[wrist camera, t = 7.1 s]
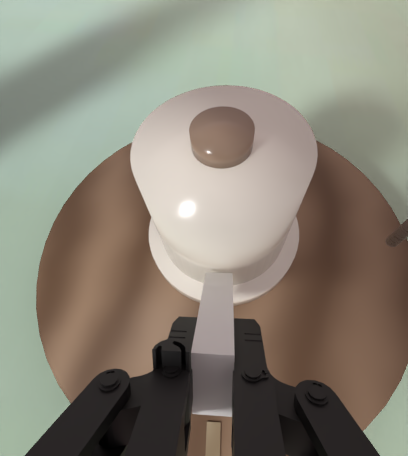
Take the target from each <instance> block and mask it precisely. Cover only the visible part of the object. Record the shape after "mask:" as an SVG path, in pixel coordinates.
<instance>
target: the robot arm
mask: <svg viewBox="0 0 408 456" xmlns="http://www.w3.org/2000/svg"><path fill="white" fill-rule="evenodd" d="M152 358H153V371H151V372H149V373H147V374H144V375H141V376H136V377H131V378H130V376H129V375H128V373H127V372H126V371H124V370H122V369H109V370H106V371H104V372H101V373H99V374H98V375H97V376H96V377H95V378H94V379H93V380H92V381H91V382H90V383H89V384H88V385H87V386H86V388H85V389H84V390H83V391H82V392H81V393H80V394H79V395H78V396H77V398H76V399H75V400H74V401H73V402H72V403H71V404H70V405H69V407H68V408H67V409H66V410H65V411H64V412H63V413H62V414H61V415H60V417H59V418H58V419H57V420H56V421H55V422H54V423H53V424H52V426H51V427H50V428H49V429H48V430H47V431H46V432H45V433H44V435H43V436H42V437H41V438H40V439H39V440H38V441H37V442H36V443H35V445H34V446H33V447H32V448H31V449H30V450H29V451H28V452H27V454H26V455H25V456H187V453H188V446H189V438H190V431H191V411H192V414H199V415H213V416H226V417H232V434H231V448H232V456H286V455H289V456H380V455H379V454H378V452H377V451H376V449H375V448H374V447H373V445H372V444H371V442H370V441H369V440H368V438H367V437H366V435H365V434H364V433H363V431H362V430H361V428H360V427H359V426H358V424H357V423H356V421H355V420H354V418H353V417H352V416H351V414H350V413H349V411H348V410H347V409H346V407H345V406H344V404H343V403H342V402H341V400H340V399H339V397H338V396H337V395H336V393H335V392H334V391H333V390H332V389H331V388H330V387H329V386H327V385H325V384H324V383H322V382H319V381H315V380H304V381H301V382H300V383H299V384H298V385H297V386H296V387H293V386H290V385H287V384H285V383H282V382H280V381H279V380H277V379H275V378H274V377H273V376H272V375H271V374H270V371H269V370H268V368H267V364H266V358H265V352H264V346H263V340H262V335H261V328H260V325H259V324H258V323H257V322H256V320H255V319H240V318H234V312H233V273H217V272H206V274H205V279H204V284H203V290H202V295H201V301H200V306H199V312H198V317H181V316H179V317H178V318H177V319H176V320H175V321H174V322H173V323H172V327H171V330H170V333H169V336H168V339H166V340H163V341H160V342H159V343H158V344H156V345H155V346H154V348H153V349H152Z"/></svg>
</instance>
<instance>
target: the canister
mask: <svg viewBox="0 0 408 456" xmlns="http://www.w3.org/2000/svg"><path fill="white" fill-rule="evenodd" d="M317 157H318V153H317V143H316V139H315V136H314V133H313V131H312V129H311V127H310V125H309V124H308V122H307V121H306V119H305V118H304V117H303V116H302V115H301V113H299V112H298V111H297V110H296V109H295V108H294V107H293V106H291V105H290V104H289V103H287V102H286V101H284V100H282V99H280V98H279V97H277V96H274V95H272V94H270V93H267V92H264V91H261V90H258V89H254V88H249V87H243V86H230V85H223V86H210V87H204V88H199V89H195V90H191V91H188V92H185V93H183V94H180V95H178V96H175V97H173V98H172V99H170V100H168V101H166V102H165V103H163V104H162V105H160V106H159V107H157V108H156V109H155V110H154V111H153V112H151V113H150V114H149V116H148V117H147V118H146V119H145V120H144V121H143V123H142V124H141V125H140V127H139V129H138V130H137V132H136V134H135V137H134V139H133V142H132V146H131V153H130V162H131V168H132V172H133V175H134V178H135V180H136V183H137V185H138V187H139V190H140V192H141V194H142V197H143V199H144V201H145V204H146V206H147V208H148V211H149V213H150V215H151V221H150V225H149V244H150V249H151V253H152V256H153V258H154V260H155V262H156V264H157V266H158V268H159V270H160V272H161V273H162V275H163V276H164V278H165V279H166V280H167V281H168V283H169V284H170V285H171V286H172V287H173V288H174V289H176V290H177V291H178V292H179V293H181V294H182V295H184V296H186V297H187V298H189V299H192V300H194V301H196V302H199V303H200V301H201V295H202V290H203V284H204V279H205V274H206V272H217V273H233V306H237V305H242V304H246V303H249V302H252V301H254V300H256V299H259V298H260V297H262V296H264V295H266V294H267V293H268V292H270V291H271V290H272V289H273V288H275V287H276V286H277V285H278V283H279V282H280V281H281V280H282V279H283V277H284V276H285V274H286V273H287V271H288V269H289V268H290V266H291V264H292V262H293V260H294V258H295V255H296V252H297V249H298V243H299V227H298V221H297V218H296V214H297V212H298V210H299V207H300V205H301V203H302V200H303V198H304V195H305V193H306V191H307V188H308V186H309V184H310V181H311V179H312V177H313V174H314V171H315V168H316V164H317Z"/></svg>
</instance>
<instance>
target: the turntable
mask: <svg viewBox="0 0 408 456" xmlns="http://www.w3.org/2000/svg"><path fill="white" fill-rule="evenodd" d="M316 143H317V153H318V157H317V164H316V168H315V171H314V174H313V177H312V179H311V181H310V184H309V186H308V188H307V191H306V193H305V195H304V198H303V200H302V203H301V205H300V207H299V210H298V212H297V214H296V218H297V221H298V227H299V243H298V249H297V252H296V255H295V258H294V260H293V262H292V264H291V266H290V268H289V269H288V271H287V273H286V274H285V276H284V277H283V279H282V280H281V281H280V282H279V283H278V285H277V286H276V287H275V288H273V289H272V290H271V291H270V292H268V293H267V294H266V295H264V296H262V297H260V298H259V299H256V300H254V301H252V302H249V303H246V304H242V305H237V306H233V312H234V318H240V319H255V320H256V322H257V323H258V324H259V325H260V328H261V335H262V340H263V346H264V352H265V358H266V364H267V368H268V370H269V371H270V374H271V375H272V376H273V377H274V378H275V379H277V380H279V381H280V382H282V383H285V384H287V385H290V386H293V387H296V386H297V385H298V384H299V383H300V382H301V381H304V380H315V381H319V382H322V383H324V384H325V385H327V386H329V387H330V388H331V389H332V390H333V391H334V392H335V393H336V395H337V396H338V397H339V399H340V400H341V402H342V403H343V404H344V406H345V407H346V409H347V410H348V411H349V413H350V414H351V416H352V417H353V418H354V420H355V421H356V423H357V424H358V426H359V427H360V428H361V430H362V431H363V430H364V429H366V427H367V426H368V425H369V424H370V423H371V422H372V421H373V419H374V418H375V417H376V416H377V415H378V414H379V412H380V411H381V410H382V409H383V408H384V407H385V406H386V404H387V402H388V401H389V399H390V397H391V396H392V394H393V392H394V391H395V389H396V387H397V386H398V384H399V382H400V381H401V379H402V376H403V374H404V371H405V369H406V366H407V364H408V241H407V238H406V239H405V240H403V241H402V242H401V243H400V244H399V245H397V246H396V247H389V246H388V245H387V244H386V242H385V240H386V238H387V237H388V236H389V235H390V234H392V233H393V232H394V231H395V230H396V229H397V228H398V227H399V226H400V223H399V221H398V219H397V217H396V215H395V214H394V212H393V210H392V208H391V207H390V205H389V204H388V203H387V201H386V200H385V198H384V197H383V196H382V194H381V193H380V192H379V190H378V189H377V188H376V187H375V186H374V185H373V184H372V183H371V181H370V180H369V179H368V178H367V177H366V176H365V175H364V174H363V173H362V172H361V171H360V170H358V169H357V168H356V167H355V166H354V165H353V164H352V163H350V162H349V161H348V160H347V159H345V158H344V157H342V156H341V155H339V154H338V153H337V152H335V151H334V150H332V149H331V148H329V147H327V146H325V145H323V144H322V143H320V142H318V141H316ZM131 146H132V143H130V144H128V145H127V146H125V147H123V148H121V149H120V150H118V151H117V152H115V153H114V154H113V155H111V156H110V157H108V158H107V159H106V160H104V161H103V162H102V163H101V164H100V165H99V166H97V167H96V168H95V169H94V170H93V171H92V172H91V173H89V175H88V176H87V177H86V178H85V179H84V180H83V181H82V182H81V183H80V184H79V185H78V187H77V188H76V189H75V190H74V192H73V193H72V194H71V196H70V197H69V198H68V200H67V201H66V203H65V204H64V206H63V207H62V209H61V211H60V213H59V214H58V216H57V218H56V220H55V221H54V224H53V226H52V228H51V231H50V233H49V235H48V238H47V240H46V243H45V247H44V250H43V254H42V257H41V261H40V266H39V272H38V279H37V297H36V310H37V318H38V325H39V333H40V337H41V341H42V344H43V348H44V351H45V355H46V358H47V361H48V363H49V365H50V367H51V369H52V372H53V374H54V376H55V378H56V380H57V383H58V385H59V386H60V388H61V389H62V391H63V392H64V394H65V395H66V397H67V398H68V400H69V401H70V403H72V402H73V401H74V400H75V399H76V398H77V396H78V395H79V394H80V393H81V392H82V391H83V390H84V389H85V388H86V386H87V385H88V384H89V383H90V382H91V381H92V380H93V379H94V378H95V377H96V376H97V375H98V374H99V373H101V372H104V371H106V370H109V369H122V370H124V371H126V372H127V373H128V375H129V376H130V378H131V377H136V376H141V375H144V374H147V373H149V372H151V371H153V358H152V349H153V348H154V346H155V345H156V344H158V343H159V342H160V341H163V340H166V339H168V336H169V333H170V330H171V327H172V323H173V322H174V321H175V320H176V319H177V318H178V317H179V316H181V317H198V312H199V306H200V303H199V302H196V301H194V300H192V299H189V298H187V297H186V296H184V295H182V294H181V293H179V292H178V291H177V290H176V289H174V288H173V287H172V286H171V285H170V284H169V283H168V281H167V280H166V279H165V278H164V276H163V275H162V273H161V272H160V270H159V268H158V266H157V264H156V262H155V260H154V258H153V256H152V253H151V249H150V244H149V225H150V221H151V215H150V213H149V211H148V208H147V206H146V204H145V201H144V199H143V197H142V194H141V192H140V190H139V187H138V185H137V183H136V180H135V178H134V175H133V172H132V168H131V162H130V153H131ZM231 434H232V417H226V416H213V415H199V414H192V411H191V431H190V438H189V446H188V453H187V456H232V448H231ZM286 456H289V455H286Z"/></svg>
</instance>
